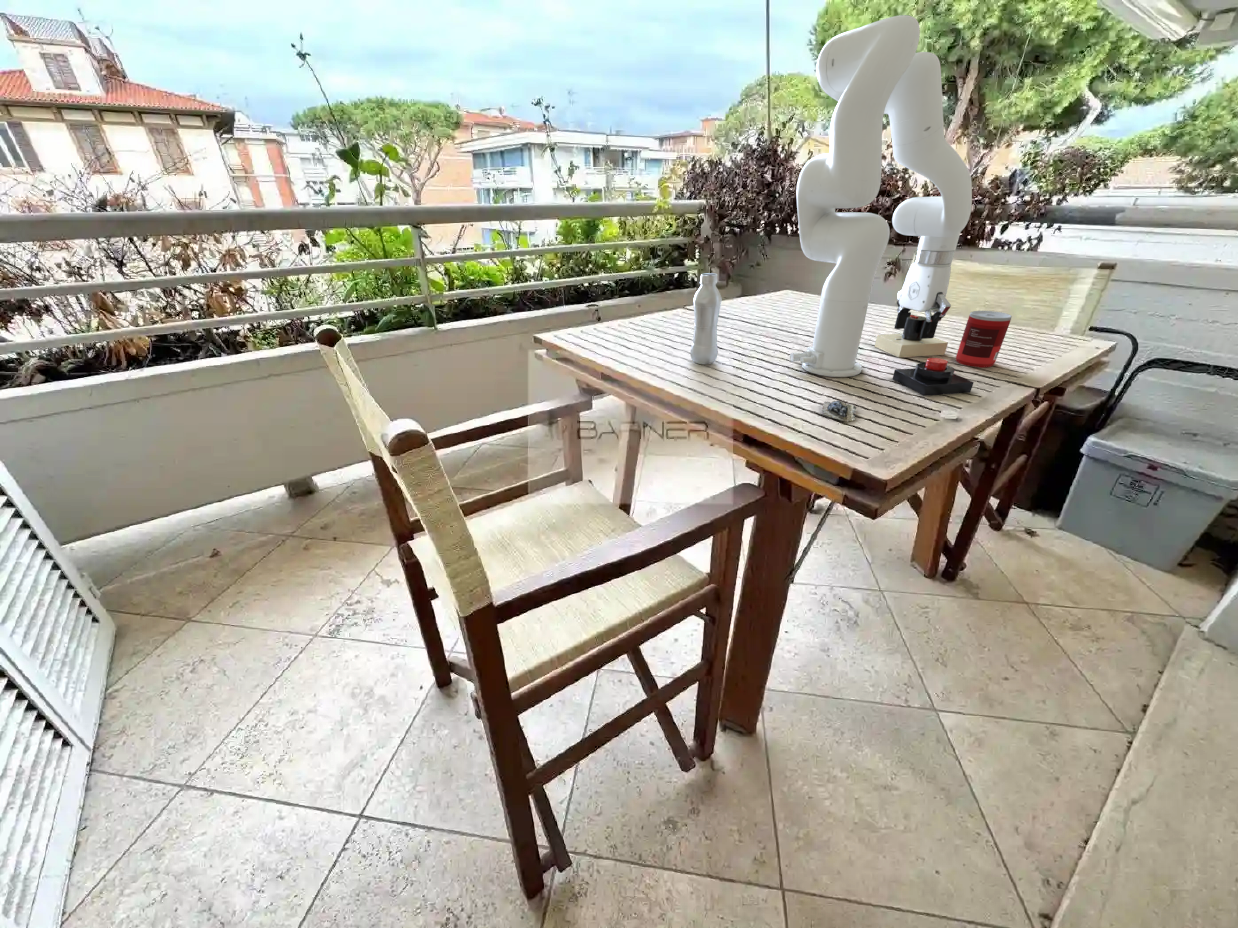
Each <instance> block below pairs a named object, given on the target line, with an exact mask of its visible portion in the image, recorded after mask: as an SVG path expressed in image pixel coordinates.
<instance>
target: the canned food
mask: <svg viewBox="0 0 1238 928" xmlns="http://www.w3.org/2000/svg"><path fill="white" fill-rule="evenodd" d="M1012 317H1013V316H1012V315H1011V314H1009V313H1006V312H1002V311H995V310H973V311H971V312H970V313H969V315H968V318H967V321H966V325H965V327H964V330H963V333H962V336H961V340H960V343H959V345H958V349H957V353H956V355H955V361H956V363H958V364H961V365H963V366H967V367H972V368H980V369H981V368H991V367H994V365H995V364H996V361H997V358H998V356H999V353H1000V350H1001V348H1002V345H1003V343H1004V340H1005V338H1006V335H1007V332H1008V329H1009V326H1010V323H1011V321H1012Z"/></svg>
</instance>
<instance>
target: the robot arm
mask: <svg viewBox="0 0 1238 928" xmlns="http://www.w3.org/2000/svg"><path fill="white" fill-rule="evenodd" d="M920 29H921V27H920V23H919V21H918V19H916V18H915V17H914V16H912V15H908V14H900V15H894V16H890V17H885V18H882V19H880V20H877V21H876V20H875V21H874V22H869V23H867V24H866V25H865V24H864V25H862V26H861V27H860V26H859V27H856V28H854V29H850V30H848V31H845V32H844V31H843V32H842V33H840V34H837V35H835V36H833V37H831V39H829V40H828V41H827V42H826V43H825V44H824V46H823V47H822V49H821V50H820V53H819V55H818V58H817V61H816V69H815V70H816V79H817V82H818V84H819V87H820V89H821V90H822V91H823V92H824V93H825V94H826V95H827V96H829V97H830V98H831V99H832V100H835V101H836V102H837V103H836V106H835V107H834V110H833V113H832V117H831V120H830V124H829V152H827V153H826V152H825V153H821V154H818V155H815V156H813V157H811V158H810V159H809V160H808V161H807V162H806V163H805V164H804V166H803V167H802V169H801V171H800V173H799V176H798V179H797V183H796V196H795V197H796V208H797V209H796V211H797V223H798V235H799V242H800V243H799V244H800V248H801V251H802V253H803V255H804V256H805V257H806V258H808V259H809V260H812V261H816V262H821V263H831V264H835V266H834V267H833V269H832V270H831V272H830V273H829V274H828V276H827V277H826V278H825V281H824V283H823V285H822V289H821V294H820V300H819V307H818V311H817V318H816V323H815V329H814V333H813V334H814V336H813V341H812V346H807V348H806V350H804V351H803V352H791V353H790V354H789V360H790V361H789V362H799V363H800V364H801V368H802V369H803V370H805V371H806V372H809V373H811V374H814V375H818V376H822V377H831V378H849V377H854V376H858V375H859V374H861V373H862V369H863V366H862V364H861V363H859V362H858V361H857V358H858V353H859V349H860V343H861V340H862V335H863V329H864V325H865V321H866V316H867V313H868V307H869V303H870V298H871V295H872V290H873V286H874V282H875V278H876V274H877V271H878V268H879V265H880V263H881V260H882V258H883V256H884V254H885V251H886V249H887V246H888V244H889V240H890V234H891V233H890V231H891V230H890V226H889V223H888V222H887V220H886V219H885V218H884V217H883V216H881V215H879V214H877V213H872V212H858V211H855V212H854V211H851V212H850V211H847V212H845V211H844V212H843V211H842V212H840V211H838V212H836V209H858V208H863V207H865V206H868V205H869V204H870V203H873V201H874V200H875V199H876V198H877V196H878V194H879V191H880V188H881V183H882V159H883V122H884V115H888V120H889V127H890V135H891V145H892V156H893V159H894V160H895V162H896V163H898V165H900V166H902V167H905V168H906V169H909V170H910V171H912V172H914V173H917V174H918V175H920V176H923V177H924V178H926V179H927V180H929V181H930V182H931V183H932V184H933V185H934V186H935V187H936V188H937V190H938V192H939V193H940V196H916V197H915V196H914V197H910V198H907V199H905V200H904V201H902V202H901V203H900V204H898V206H897V207H896V209H895V210H894V212H893V214H892V218H891V223H892V227H893V229H894V230H895V232H896V233H898V234H900V235H903V236H910V237H911V236H913V237H919V241H918V244H917V248H916V253H915V256H914V260H913V261H914V262H912V263H911V265H910V267H909V269H908V271H907V272H906V276H905V279H904V281H903V285H902V288H901V290H899V291H897V293H896V297H897V298H896V299H897V302H896V305H897V309H896V313H897V316H896V320H895V324H894V329H895V330H904V327H905V323H906V319H907V317H909V316H911V315H912V312H911V311H915V312H918V313H924V314H925V318H926V319H927V321H924V324H923V328H922V331H921V335H920V338H921V339H928V338H933V337H934V338H935V335H936V332H937V327H938V324H939V322H941V321H942V319H943V318H945V316H946V315H947V313H948V311H950V309H951V307H952V305H951V303H950V302H949V300H948V299H947V298H946V297H947V293H948V289H949V284H950V278H951V273H952V262H953V261H954V256H955V253H956V249H957V246H958V242H959V239H960V235H961V232H962V231H963V230H964V229H965V227H966V226H967V224H968V223H969V220H970V217H971V213H972V204H973V181H972V176H971V172H970V170H969V168H968V166H967V164H966V163H965V161H964V160H963V158H962V157H961V156H960V154H959V153H958V152H957V151H956V149H954V147H952V146H951V144H949V142H948V141H947V140H946V137H945V131H944V129H945V128H944V127H945V126H944V108H943V106H944V105H943V83H942V68H941V62H940V59H939V57H938V55H936V54H935V53H933V52H930V51H917V49H918V46H919V42H920V38H921V37H920V36H921V30H920Z"/></svg>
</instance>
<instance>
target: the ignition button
mask: <svg viewBox="0 0 1238 928" xmlns="http://www.w3.org/2000/svg"><path fill="white" fill-rule="evenodd" d="M925 362H926V365H925V368H928V369H932V370H946V366H947V365H948V363H949V361H948V360H946V359H944V358H940V357H929V358H926V361H925Z"/></svg>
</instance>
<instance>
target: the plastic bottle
mask: <svg viewBox="0 0 1238 928" xmlns="http://www.w3.org/2000/svg"><path fill="white" fill-rule="evenodd" d="M699 284H700V286H699V288H698V289H697V291H696V292H695V294H694V297H693V299H692V300H693V302H692V303H693V315H694V321H693V322H694V323H693V324H694V327H693V328H694V329H693V337H692V342H691V346H690V352H689V354H690V359H691V361H692V362H693V363H695V364H698V365H699V364H700V365H710V364H713V363H714V362H715V361H716V360H717V358H718V354H719V349H718V348H719V346H718V323H719V315H720V311H721V307H722V302H723V301H722V300H723V298H722V294H721V292H720V290H719V289H718V287H717V284H718V274H717V273H713V272H711V273H710V272H708V273H707V272H706V273H701V274H700V281H699Z"/></svg>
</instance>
